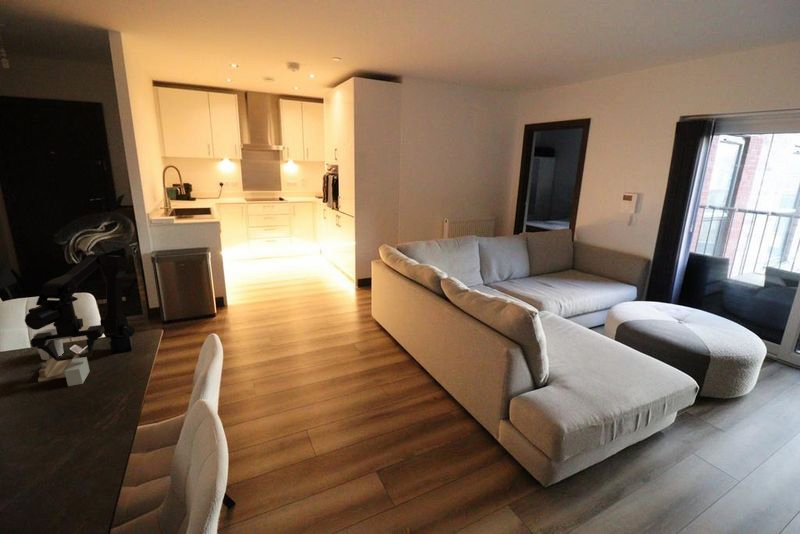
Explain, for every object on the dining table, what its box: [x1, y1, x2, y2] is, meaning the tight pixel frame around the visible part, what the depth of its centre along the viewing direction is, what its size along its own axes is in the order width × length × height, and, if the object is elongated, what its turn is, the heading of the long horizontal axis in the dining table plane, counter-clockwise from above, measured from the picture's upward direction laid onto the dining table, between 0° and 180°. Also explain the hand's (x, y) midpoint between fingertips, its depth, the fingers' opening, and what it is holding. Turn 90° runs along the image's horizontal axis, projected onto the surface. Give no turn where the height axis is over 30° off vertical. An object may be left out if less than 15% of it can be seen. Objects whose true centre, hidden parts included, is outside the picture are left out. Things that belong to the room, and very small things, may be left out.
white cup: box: [32, 328, 65, 361], centre depth 147 cm, size 8×8×10 cm
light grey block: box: [64, 356, 91, 387], centre depth 133 cm, size 4×9×6 cm, turn 26°
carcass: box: [37, 353, 81, 383], centre depth 137 cm, size 10×12×6 cm
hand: (74, 357), depth 131 cm, fingers open, 9 cm apart
